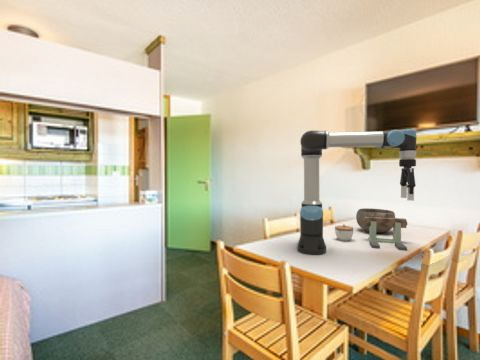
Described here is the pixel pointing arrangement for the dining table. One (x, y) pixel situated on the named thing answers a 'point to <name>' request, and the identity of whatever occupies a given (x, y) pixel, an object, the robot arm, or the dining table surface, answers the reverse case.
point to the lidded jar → (344, 232)
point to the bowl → (374, 213)
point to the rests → (398, 245)
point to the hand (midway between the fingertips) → (407, 199)
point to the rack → (373, 238)
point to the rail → (385, 221)
